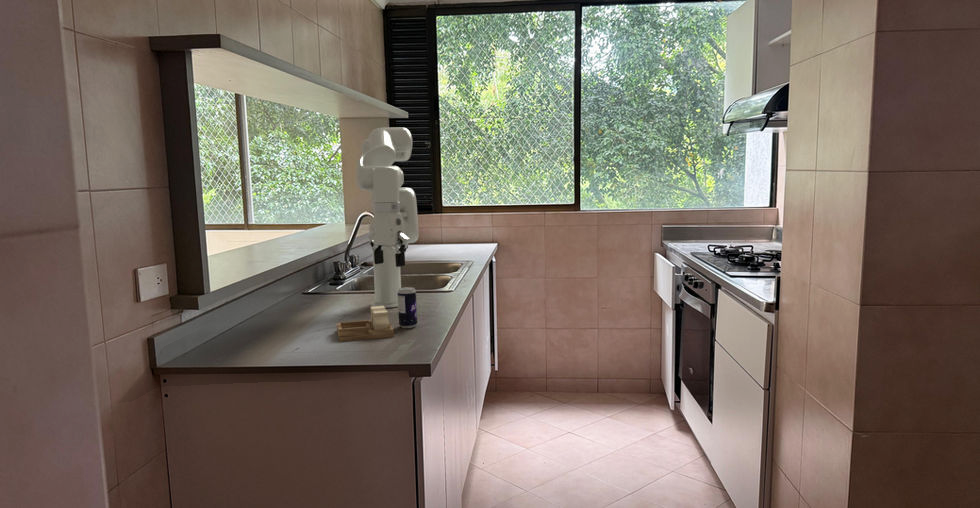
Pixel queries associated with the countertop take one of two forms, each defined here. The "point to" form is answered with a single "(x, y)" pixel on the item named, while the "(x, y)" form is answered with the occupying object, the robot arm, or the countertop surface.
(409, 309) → the beverage can
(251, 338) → the countertop surface
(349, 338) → the jig
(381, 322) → the wing block
